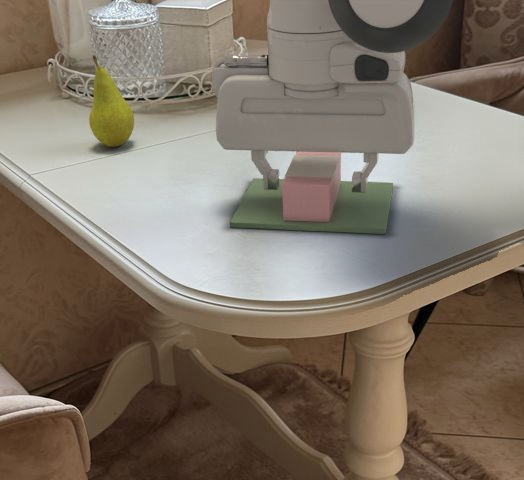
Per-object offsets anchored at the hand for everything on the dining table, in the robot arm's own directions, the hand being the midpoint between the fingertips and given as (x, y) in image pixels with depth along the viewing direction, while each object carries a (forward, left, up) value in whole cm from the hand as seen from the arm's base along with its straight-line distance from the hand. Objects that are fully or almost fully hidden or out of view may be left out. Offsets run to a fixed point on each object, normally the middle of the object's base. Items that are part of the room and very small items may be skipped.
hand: (315, 189), depth 84 cm
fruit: (+29, -17, -2) cm, 34 cm away
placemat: (0, 0, -2) cm, 2 cm away
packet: (0, 0, -1) cm, 1 cm away
